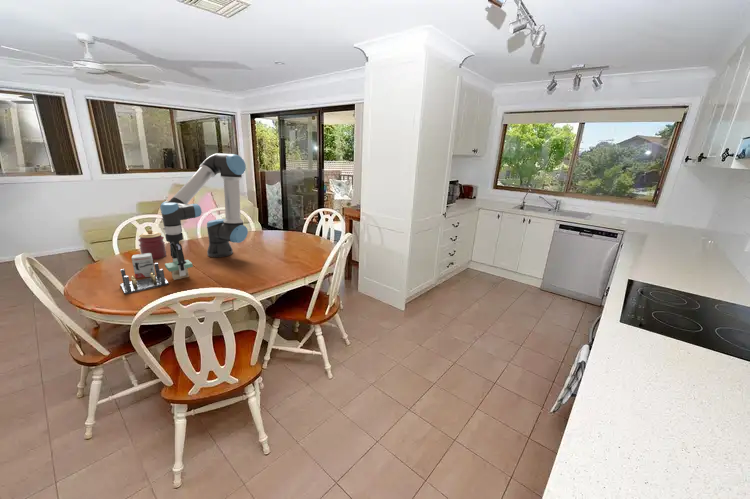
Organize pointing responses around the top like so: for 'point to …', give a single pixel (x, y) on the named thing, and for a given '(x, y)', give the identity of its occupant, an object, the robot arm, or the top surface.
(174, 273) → the block
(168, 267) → the board
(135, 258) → the ink box
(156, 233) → the canister
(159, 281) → the chassis
